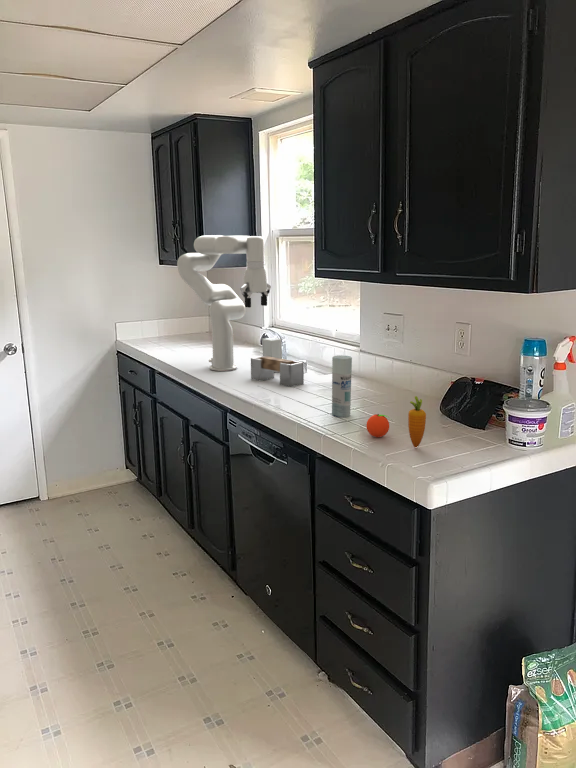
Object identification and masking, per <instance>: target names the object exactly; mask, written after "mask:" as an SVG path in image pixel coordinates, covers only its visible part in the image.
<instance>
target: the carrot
mask: <svg viewBox="0 0 576 768" xmlns="http://www.w3.org/2000/svg"><path fill="white" fill-rule="evenodd" d="M414 400H415V402H414V401H413V400H412V401H410V402H409V403H410V404H412V406H413V408H412V409H409V411H408V416H407V417H408V420H407V421H408V422H407V423H408V426H407V427H408V434H409V438H410V442H411V443H412V445H413V447H414V448H415V447H417V446H418V447H419V446H420V444H421V442H422V440H423V438H424V433H425V429H426V420H427V413H426V411H425V410H424V409H421V407H422V403H423V399H422V398H420V399H419V398H418V396H414ZM418 447H417V448H418Z"/></svg>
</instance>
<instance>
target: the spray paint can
mask: <svg viewBox="0 0 576 768" xmlns="http://www.w3.org/2000/svg"><path fill="white" fill-rule="evenodd" d="M331 362H332V365H331V369H332V371H331V373H332V375H331V378H332V379H331V380H332V381H331V383H332V384H331V415H332V416H333V417H335V416H336V418H347V417H348V418H349V417H350V416H351V402H352V401H351V400H352V399H351V398H352V367H353V364H352V363H353V357H352V356H349V355H342V354H341V355H334V356H332V361H331Z"/></svg>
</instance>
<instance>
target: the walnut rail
mask: <svg viewBox="0 0 576 768" xmlns="http://www.w3.org/2000/svg"><path fill="white" fill-rule="evenodd" d="M259 357H260V356H259ZM260 359H261V360H262V368H264V369H269V370H274V371H279V372H278V373H280V363H285V364H294V361H295V360H291V359H285V358H282V359H280V358H274V357H269V356H265V357H260Z"/></svg>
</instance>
